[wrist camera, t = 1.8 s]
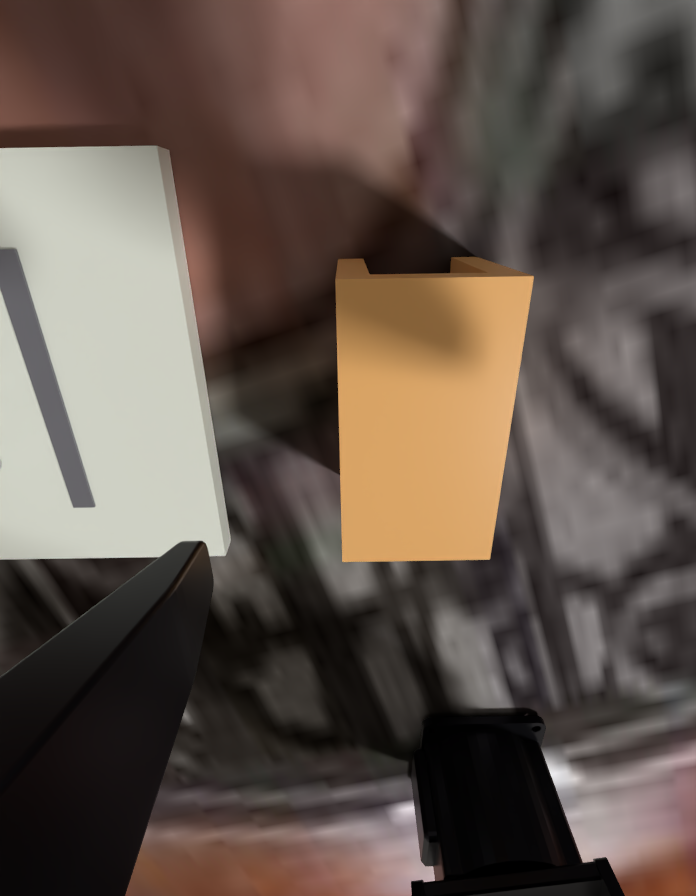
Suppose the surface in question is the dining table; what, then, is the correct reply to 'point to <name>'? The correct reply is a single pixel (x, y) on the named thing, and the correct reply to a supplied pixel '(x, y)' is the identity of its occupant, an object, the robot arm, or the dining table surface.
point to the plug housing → (426, 406)
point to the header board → (100, 361)
